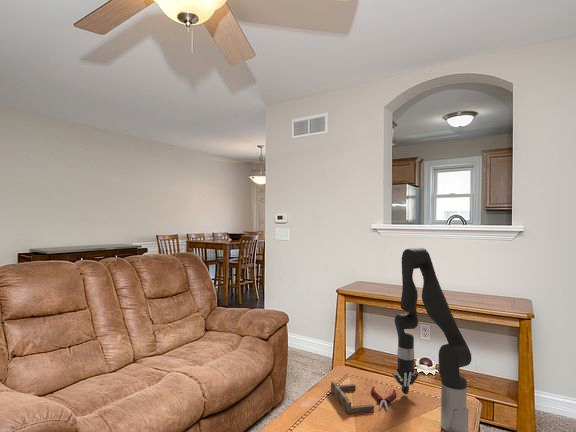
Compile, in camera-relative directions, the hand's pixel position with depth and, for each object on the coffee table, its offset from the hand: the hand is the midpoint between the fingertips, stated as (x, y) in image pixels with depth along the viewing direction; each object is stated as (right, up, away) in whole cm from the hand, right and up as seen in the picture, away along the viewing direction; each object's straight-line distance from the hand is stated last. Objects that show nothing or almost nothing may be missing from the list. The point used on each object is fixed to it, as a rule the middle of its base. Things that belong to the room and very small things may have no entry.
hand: (405, 393), depth 168 cm
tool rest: (-26, 0, -6) cm, 27 cm away
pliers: (-13, -2, -4) cm, 13 cm away
